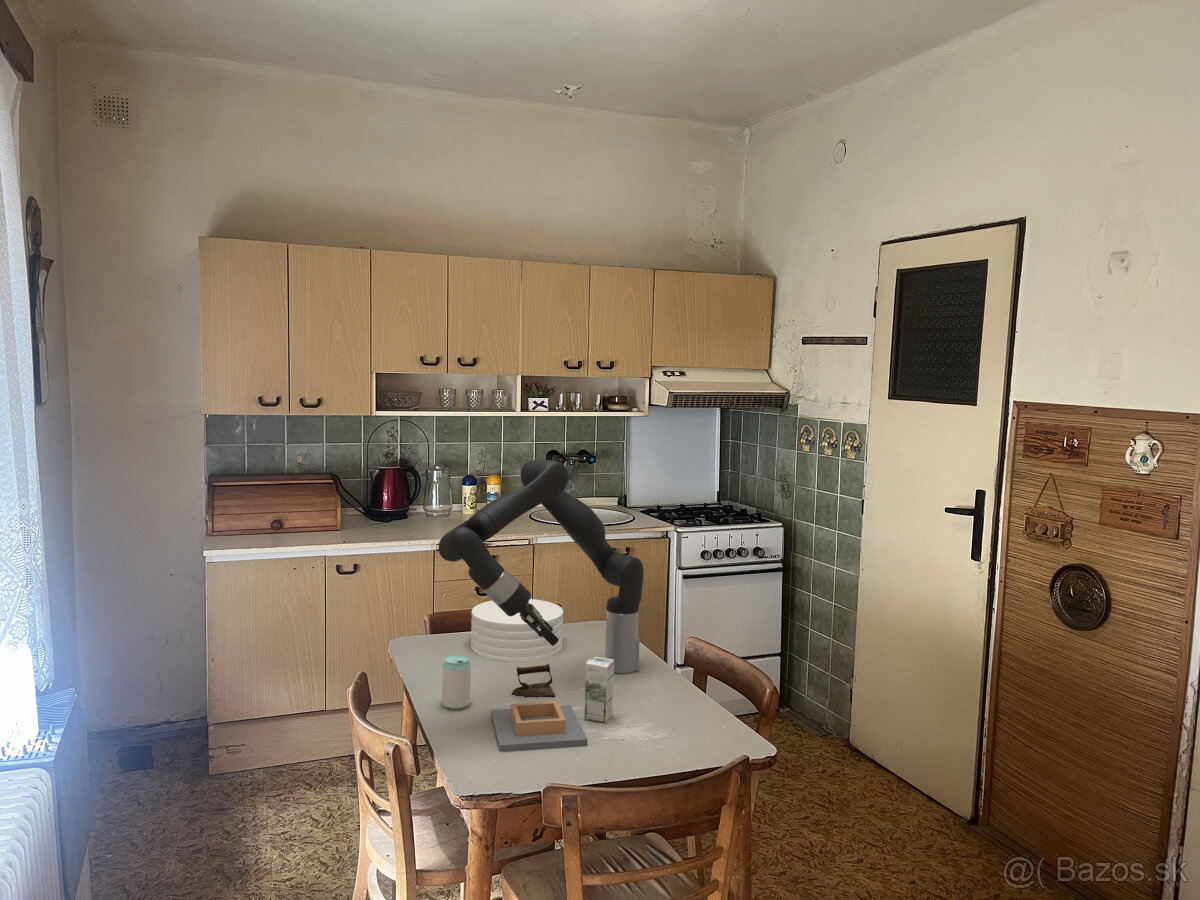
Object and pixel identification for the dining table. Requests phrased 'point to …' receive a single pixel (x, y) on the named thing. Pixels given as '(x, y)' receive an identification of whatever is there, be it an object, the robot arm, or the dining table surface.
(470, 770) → the dining table surface
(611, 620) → the robot arm
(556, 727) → the collar stand
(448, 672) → the can
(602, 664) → the syrup box
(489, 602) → the plate stack
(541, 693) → the clothes iron
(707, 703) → the dining table surface
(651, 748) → the dining table surface
